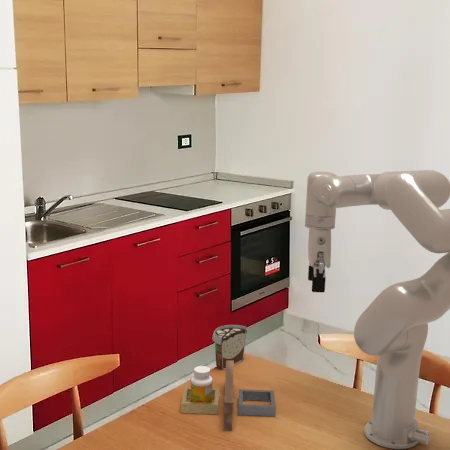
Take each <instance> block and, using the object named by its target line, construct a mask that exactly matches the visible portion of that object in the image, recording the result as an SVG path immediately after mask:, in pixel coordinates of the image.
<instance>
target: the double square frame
mask: <svg viewBox="0 0 450 450" xmlns="http://www.w3.org/2000/svg"><path fill="white" fill-rule="evenodd" d="M237 396H238V402H237V403H238V411H237V412H238V416H249V417H251V416H252V417H276V414H277V413H276V412H277V411H276V410H277V405H276V404H277V403H276V397H275V390H268V389H266V390H263V389H244V388H243V389H242V388H239V389H238V395H237ZM188 399H191V386H190V387H189V386H184V387H183V391H182V397H181V402H180V413H181V414H193V415H195V414H198V415H199V414H201V415H218V414H219V399H220V388H218V387H217V388H216V387H214V388H213V387H212V400H214V402H212V403H204V402H190V401H188ZM244 401H252V402H253V401H255V402H256V401H257V402H269V404H254V403H253V404H251V403H244Z"/></svg>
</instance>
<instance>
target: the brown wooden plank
mask: <svg viewBox="0 0 450 450" xmlns="http://www.w3.org/2000/svg"><path fill="white" fill-rule="evenodd" d="M234 366H235V365H234V361H230V360H226V369H225V379H224V398H223V399H224V403H223V405H224V406H223V426H222V427H223V431H233V414H234V413H233V411H234V370H235V369H234V368H235V367H234Z"/></svg>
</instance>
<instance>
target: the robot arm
mask: <svg viewBox="0 0 450 450" xmlns="http://www.w3.org/2000/svg"><path fill="white" fill-rule="evenodd" d="M306 185H307V187H306V201H305V218H304V227H306V229H308V240H307V241H308V246H307V254H308V255H307V257H308V262H309V265H308V271H307V280H308V281H309V282H310V281H311V292H312V293H325V291H326V278H327V277H326V268H327V269H330V268H331V259H332V258H331V256H332V230H334V229H335V228H336V216H337V215H336V212H337V209H341V208H348V207H357V206H368V205H369V206H370V205H371V206H372V205H373V206H375V205H377V206H379V207H380V208H381V209H383V210H386V211H387V210H388V211H391V212H392V213H393V215H394V216H395V217H396V218H397V219H398V221H399V222H400V223H401V224H402V225H403V227H404V228H405V229H406V230H407V231H408V232H409V234H410V235H411V236H412V238H414V240H415V241H416V242H417V243H418V244H419V245H420V246H421V247H422V248H423V249H425V250H426V251H428V252H430V253H432V254H433V253H434V254H444V255H443V256H441V257H440V258H439V259H437V261H435V262H434V263H433V265H431V267H430V268H429V269H428V270H427V271H426V272H424V274H422V275H421V276H419V277H417V278H414V279H409V280H405V281H401V282H397V283H394V284H391V285H389V286H388V287H386V288H385V289H384V290H382V291H380V293H379V294H378V295H377V296H376V298H375V299H374V300H373V301H372V302H371V303H370V304H369V305H368V306H367V307H366V309H365V310H364V311H363V312H362V313H361V314H360V315H359V317H358V318H357V320H356V323H355V325H354V330H353V337H354V341H355V344H356V345H357V348H358V349H359V350H360V351H361V352H362V353H365V354H367V355H369V356H375V357H376V356H378V357H377V361H376V369H375V376H374V377H375V379H374V388H373V389H374V390H373V391H374V392H373V400H372V402H373V403H372V411H371V412H372V413H371V415H372V416H371V420H370V421H368V422H367V423H366V424H364V428H363V433H364V435H365V437H366V438H367V439H368V440H369V441H370V442H372V443H373V444H376V445H378V446H380V447H384V448H387V449H394V450H404V449H405V450H406V449H410V448H413V447H415V446H416V445H418V444H419V443H421V444H424V445H426V446H427V445H428V444H429V442H430V436H429V433H430V432H429V431H428V430H425V429H421V428H420V427H419V420H418V419H415V418H416V407H417V396H418V386H419V378H420V367H421V361H422V356H423V352H424V351H423V350H424V348H425V344H426V341H427V338H428V335H429V334H428V333H429V323H432V322H435V321H437V320H439V319H441V318H442V317H443V316H444V315H445V314H446V313H447V312H448V311H449V310H450V208H447V209H446V208H445V209H440V208H441V207H442V206H444V205H445V204H446V203H447V202H448V201H449V199H450V181H449V179H448V177H446V175H444V174H442V173H441V172H439V171H436V170H431V169H428V170H427V169H424V170H423V169H421V170H402V171H398V170H397V171H384V172H382V173H371V174H370V173H369V174H368V173H367V174H350V175H341V176H340V175H338V176H337V174H335V173H334V172H329V171H313V172H311V173H309V174H308V176H307V183H306Z"/></svg>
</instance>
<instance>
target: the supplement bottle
mask: <svg viewBox="0 0 450 450" xmlns="http://www.w3.org/2000/svg"><path fill="white" fill-rule="evenodd" d="M213 380H214V379H213V377H212V376H211V368H210V367H209V366H205V365H199V366H195V367H194V368H193V376H192V377H191V379H190V387H191V398H190V401H189V402H204V403H213V399H212V388H213V383H214V382H213Z"/></svg>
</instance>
